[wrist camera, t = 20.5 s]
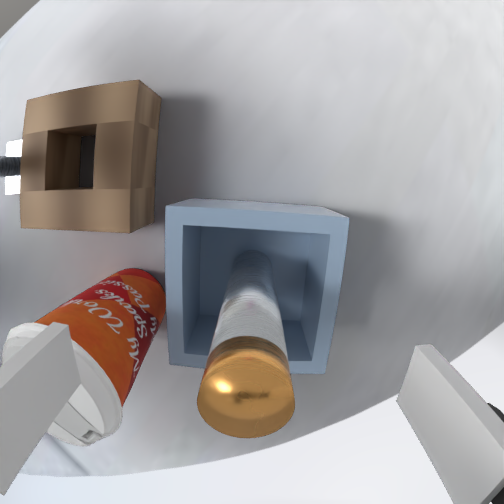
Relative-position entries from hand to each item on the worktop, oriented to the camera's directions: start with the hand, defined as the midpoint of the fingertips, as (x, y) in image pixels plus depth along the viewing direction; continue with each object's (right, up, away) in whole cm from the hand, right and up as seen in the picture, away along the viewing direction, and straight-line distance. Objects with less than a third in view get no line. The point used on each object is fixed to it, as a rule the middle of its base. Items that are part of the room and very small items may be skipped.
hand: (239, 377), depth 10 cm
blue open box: (+1, +3, +14) cm, 14 cm away
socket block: (-12, +12, +12) cm, 21 cm away
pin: (0, +3, +13) cm, 13 cm away
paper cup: (-9, 0, +15) cm, 18 cm away
